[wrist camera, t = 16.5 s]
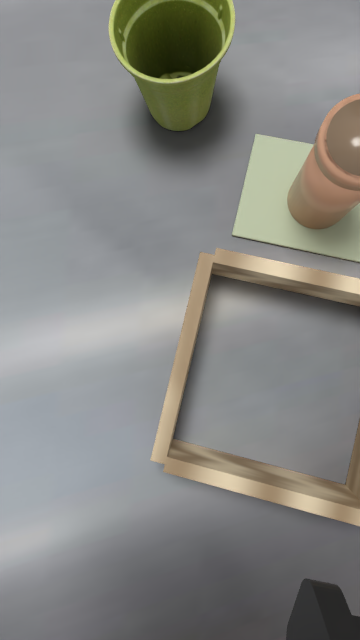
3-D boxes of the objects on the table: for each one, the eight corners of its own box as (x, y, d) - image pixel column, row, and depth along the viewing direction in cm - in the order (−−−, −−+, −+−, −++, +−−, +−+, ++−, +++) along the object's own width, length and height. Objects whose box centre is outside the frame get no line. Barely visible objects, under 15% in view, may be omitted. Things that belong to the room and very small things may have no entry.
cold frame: (157, 448, 32) (148, 467, 28) (202, 258, 33) (201, 244, 28) (356, 501, 31) (384, 533, 26) (399, 302, 32) (435, 295, 27)
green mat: (231, 235, 33) (232, 234, 33) (255, 135, 33) (255, 133, 33) (381, 267, 32) (383, 266, 32) (404, 163, 32) (406, 161, 32)
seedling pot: (278, 223, 32) (311, 172, 22) (292, 162, 33) (331, 84, 23) (343, 237, 32) (405, 190, 22) (357, 175, 32) (425, 101, 22)
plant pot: (139, 53, 35) (117, -41, 26) (233, 59, 34) (242, -36, 25) (127, 143, 34) (100, 78, 26) (221, 151, 34) (226, 87, 25)
